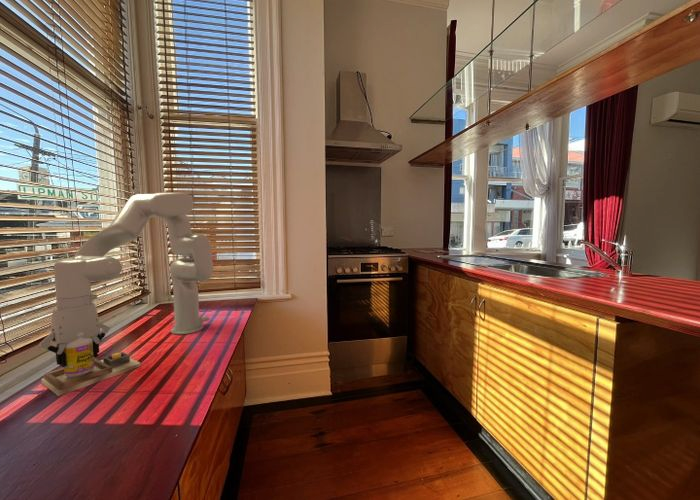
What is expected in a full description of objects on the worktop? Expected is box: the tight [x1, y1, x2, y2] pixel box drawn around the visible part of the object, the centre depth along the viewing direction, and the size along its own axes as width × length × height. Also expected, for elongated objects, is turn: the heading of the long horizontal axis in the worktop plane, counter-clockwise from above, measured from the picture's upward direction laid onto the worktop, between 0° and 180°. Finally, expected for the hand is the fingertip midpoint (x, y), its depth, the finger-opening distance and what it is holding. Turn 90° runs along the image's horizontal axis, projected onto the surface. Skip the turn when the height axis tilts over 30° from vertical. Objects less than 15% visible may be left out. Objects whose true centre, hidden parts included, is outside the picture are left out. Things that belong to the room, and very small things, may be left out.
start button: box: [111, 352, 121, 360], centre depth 97 cm, size 2×2×3 cm
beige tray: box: [41, 351, 142, 397], centre depth 92 cm, size 20×13×3 cm, turn 150°
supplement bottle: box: [63, 332, 95, 377], centre depth 89 cm, size 7×7×13 cm
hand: (79, 360), depth 89 cm, fingers closed on supplement bottle, 6 cm apart
